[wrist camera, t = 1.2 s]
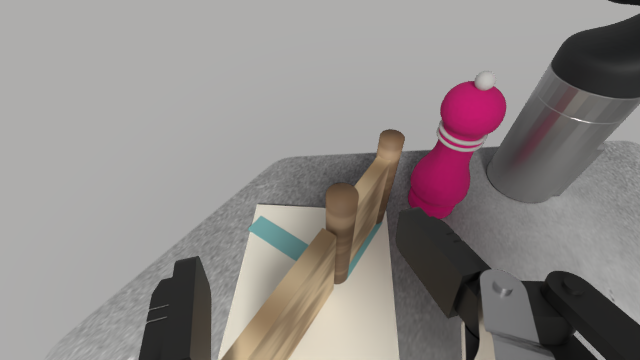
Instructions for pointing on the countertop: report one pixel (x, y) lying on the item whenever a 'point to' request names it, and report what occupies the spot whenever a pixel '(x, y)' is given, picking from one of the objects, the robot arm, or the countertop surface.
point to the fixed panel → (362, 202)
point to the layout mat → (343, 303)
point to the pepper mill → (456, 145)
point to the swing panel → (290, 305)
